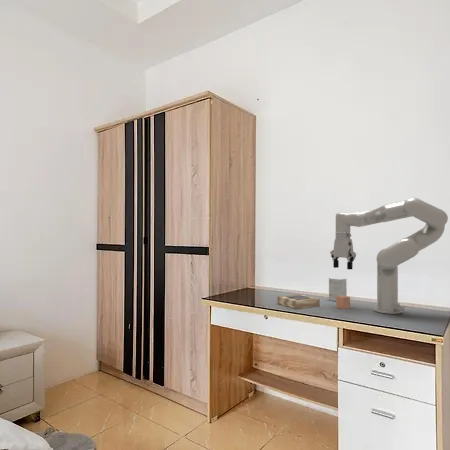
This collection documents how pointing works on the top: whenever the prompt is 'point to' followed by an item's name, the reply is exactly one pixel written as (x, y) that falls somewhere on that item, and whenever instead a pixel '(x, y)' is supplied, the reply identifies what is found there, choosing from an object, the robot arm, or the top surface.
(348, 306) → the terracotta block
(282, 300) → the square wooden tray
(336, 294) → the small box
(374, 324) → the top surface
